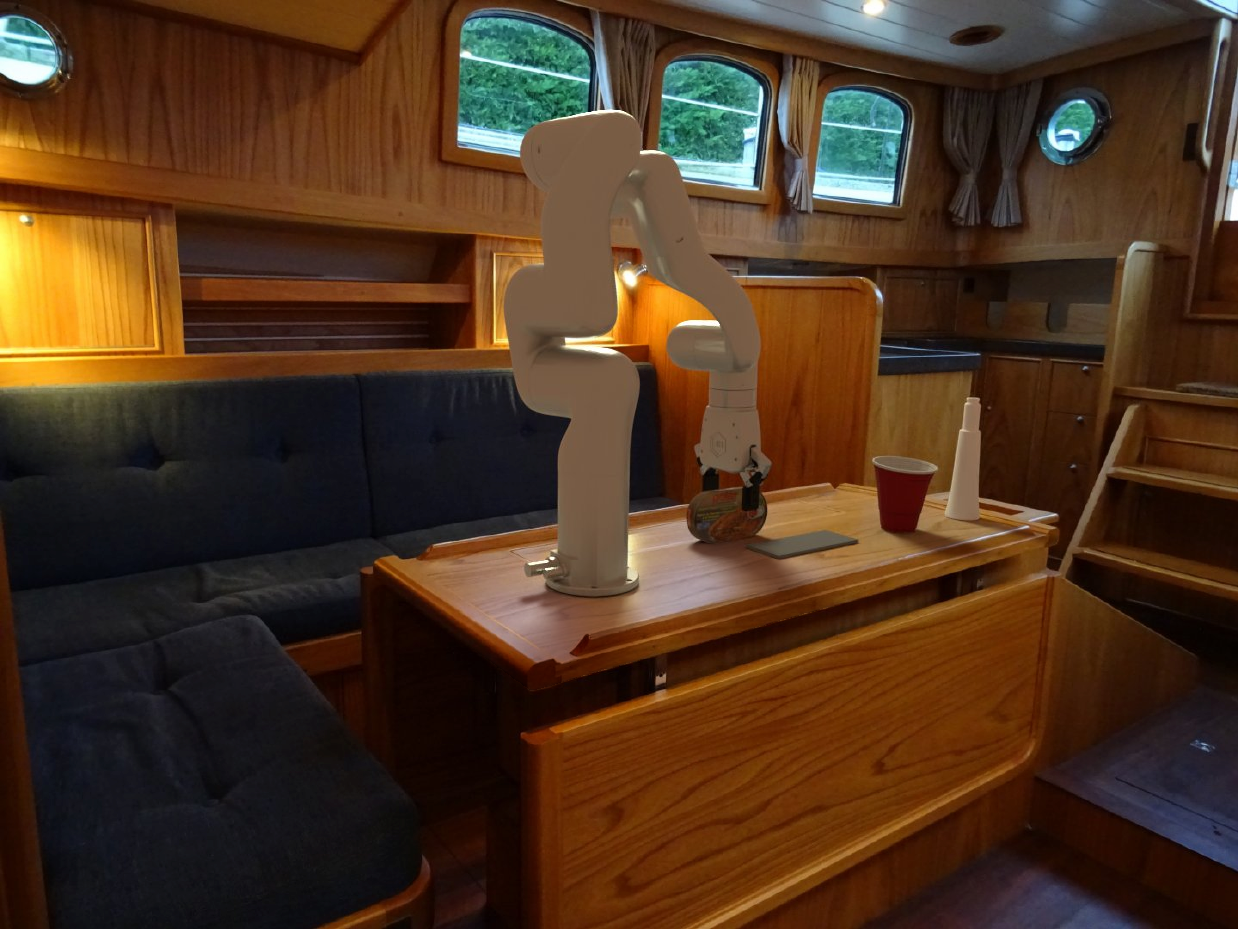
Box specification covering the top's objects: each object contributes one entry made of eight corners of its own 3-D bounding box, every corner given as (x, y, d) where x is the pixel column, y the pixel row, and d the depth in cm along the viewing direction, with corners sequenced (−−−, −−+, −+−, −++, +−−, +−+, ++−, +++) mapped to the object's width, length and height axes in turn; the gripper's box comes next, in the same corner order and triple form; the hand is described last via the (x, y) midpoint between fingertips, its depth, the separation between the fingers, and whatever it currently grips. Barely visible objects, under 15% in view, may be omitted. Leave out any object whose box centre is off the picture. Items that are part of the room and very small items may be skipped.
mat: (778, 558, 128) (778, 555, 128) (746, 547, 134) (746, 544, 134) (858, 542, 138) (858, 539, 138) (825, 532, 144) (825, 529, 144)
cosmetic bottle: (941, 517, 156) (952, 398, 152) (947, 511, 161) (958, 395, 157) (977, 522, 153) (989, 400, 149) (981, 515, 158) (993, 397, 154)
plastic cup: (907, 541, 140) (913, 469, 138) (853, 527, 148) (858, 459, 146) (945, 532, 146) (951, 463, 144) (892, 518, 155) (897, 453, 153)
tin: (693, 546, 134) (695, 494, 133) (682, 541, 137) (683, 490, 136) (767, 535, 142) (770, 486, 140) (755, 531, 145) (758, 482, 143)
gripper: (680, 395, 140) (678, 496, 144) (752, 407, 126) (749, 518, 130) (715, 392, 145) (712, 490, 148) (788, 403, 131) (784, 511, 134)
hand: (729, 503), depth 139 cm, fingers open, 9 cm apart
